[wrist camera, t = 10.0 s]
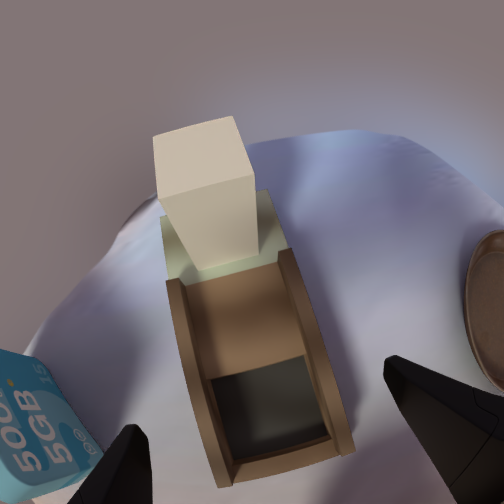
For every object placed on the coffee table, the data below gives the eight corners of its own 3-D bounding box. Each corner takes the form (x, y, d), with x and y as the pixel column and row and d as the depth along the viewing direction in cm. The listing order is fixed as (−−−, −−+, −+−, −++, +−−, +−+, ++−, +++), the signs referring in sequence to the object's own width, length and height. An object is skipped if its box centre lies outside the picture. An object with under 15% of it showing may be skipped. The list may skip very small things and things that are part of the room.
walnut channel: (345, 444, 19) (360, 455, 15) (224, 477, 18) (216, 494, 14) (267, 201, 28) (267, 174, 24) (166, 227, 27) (152, 205, 24)
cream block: (258, 254, 24) (254, 173, 14) (198, 271, 23) (158, 199, 14) (243, 204, 26) (232, 115, 17) (187, 219, 25) (152, 136, 16)
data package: (111, 459, 18) (20, 489, 7) (85, 479, 17) (-1, 508, 6) (42, 358, 22) (-49, 331, 11) (22, 382, 21) (-65, 363, 10)
